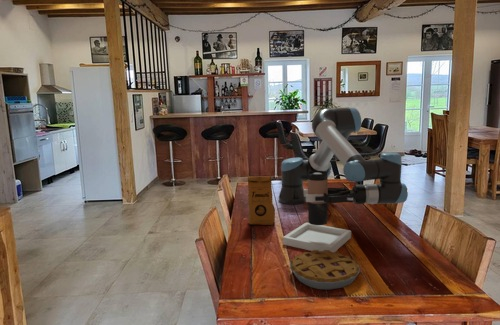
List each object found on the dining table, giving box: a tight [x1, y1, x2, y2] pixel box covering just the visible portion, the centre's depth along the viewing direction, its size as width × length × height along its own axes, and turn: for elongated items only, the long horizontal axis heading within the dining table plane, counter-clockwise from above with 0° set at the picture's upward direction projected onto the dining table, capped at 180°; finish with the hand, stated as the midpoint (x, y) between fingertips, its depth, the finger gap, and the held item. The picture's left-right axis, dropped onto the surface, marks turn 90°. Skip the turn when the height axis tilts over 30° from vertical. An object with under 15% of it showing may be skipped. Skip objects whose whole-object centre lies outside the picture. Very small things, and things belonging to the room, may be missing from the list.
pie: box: [289, 250, 361, 290], centre depth 120 cm, size 22×22×5 cm
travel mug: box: [307, 171, 329, 226], centre depth 145 cm, size 8×8×20 cm
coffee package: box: [247, 176, 276, 226], centre depth 170 cm, size 10×12×22 cm
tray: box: [282, 222, 352, 252], centre depth 148 cm, size 20×20×3 cm
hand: (305, 195), depth 145 cm, fingers closed on travel mug, 7 cm apart
